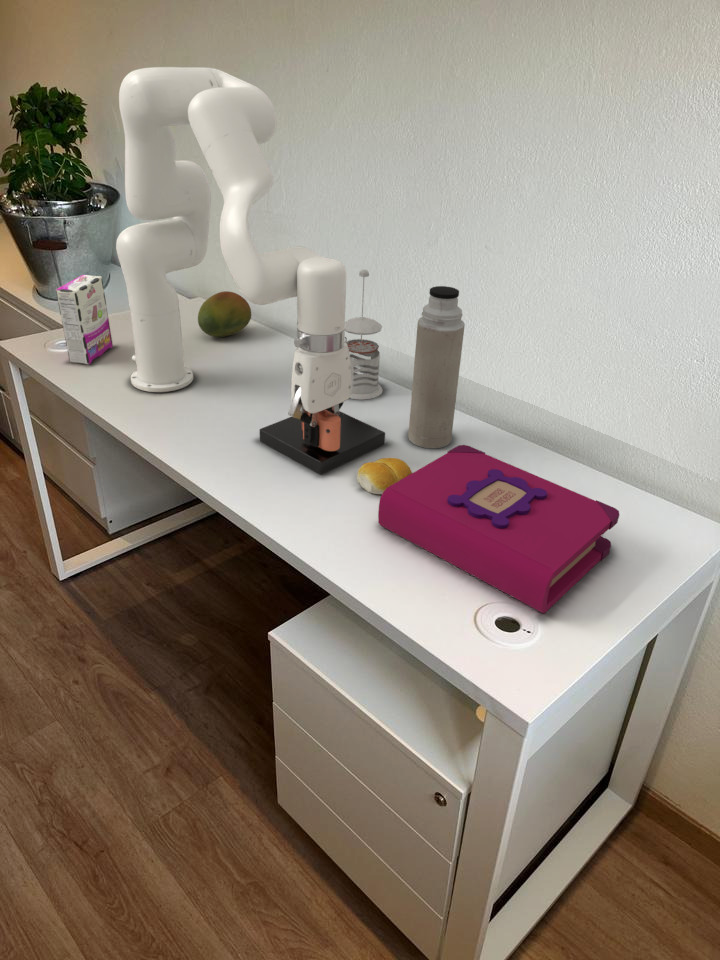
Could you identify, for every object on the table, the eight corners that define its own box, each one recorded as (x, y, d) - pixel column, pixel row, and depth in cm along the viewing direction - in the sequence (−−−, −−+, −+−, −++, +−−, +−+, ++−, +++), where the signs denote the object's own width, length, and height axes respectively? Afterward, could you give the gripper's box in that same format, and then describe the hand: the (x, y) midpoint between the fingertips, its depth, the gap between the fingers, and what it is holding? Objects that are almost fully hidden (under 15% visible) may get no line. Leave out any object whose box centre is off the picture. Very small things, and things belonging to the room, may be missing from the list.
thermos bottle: (417, 424, 141) (430, 279, 127) (456, 434, 139) (474, 286, 124) (401, 442, 135) (413, 291, 121) (442, 452, 132) (459, 299, 118)
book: (539, 619, 95) (550, 573, 91) (376, 530, 111) (379, 487, 107) (612, 550, 109) (624, 507, 105) (457, 479, 124) (463, 439, 121)
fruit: (257, 330, 182) (256, 290, 177) (235, 347, 171) (233, 305, 166) (215, 323, 185) (212, 284, 179) (190, 340, 174) (186, 298, 169)
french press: (391, 395, 152) (399, 274, 139) (340, 404, 148) (343, 280, 135) (369, 377, 160) (375, 260, 147) (320, 385, 155) (321, 265, 142)
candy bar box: (93, 344, 169) (82, 273, 161) (113, 347, 169) (103, 275, 160) (67, 363, 160) (54, 288, 151) (88, 365, 159) (76, 290, 151)
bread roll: (421, 486, 122) (423, 465, 120) (376, 501, 118) (377, 480, 116) (392, 464, 128) (394, 444, 126) (348, 477, 124) (349, 457, 122)
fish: (296, 435, 129) (295, 404, 126) (310, 429, 131) (310, 398, 128) (329, 453, 124) (330, 421, 121) (344, 446, 126) (345, 414, 123)
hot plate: (256, 439, 134) (256, 426, 132) (323, 412, 144) (324, 400, 143) (320, 475, 124) (320, 461, 123) (387, 443, 135) (388, 430, 133)
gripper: (298, 358, 110) (299, 464, 120) (373, 333, 121) (368, 432, 130) (265, 344, 115) (269, 447, 124) (340, 321, 125) (338, 418, 135)
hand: (319, 439), depth 127 cm, fingers closed on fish, 3 cm apart
